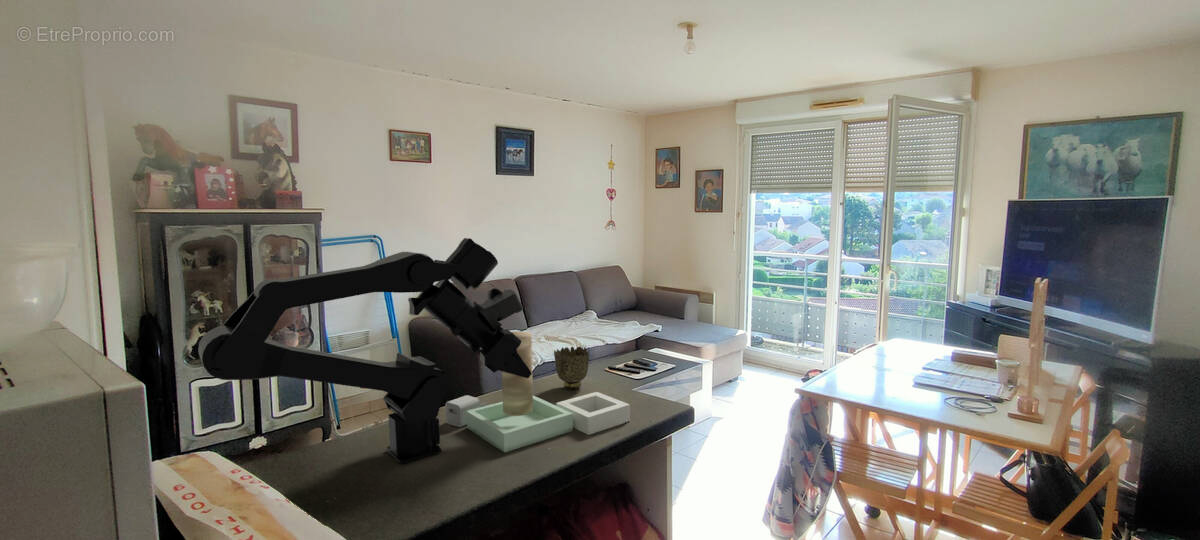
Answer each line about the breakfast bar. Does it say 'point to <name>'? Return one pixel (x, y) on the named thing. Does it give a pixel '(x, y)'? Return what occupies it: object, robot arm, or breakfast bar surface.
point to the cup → (572, 366)
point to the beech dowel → (519, 382)
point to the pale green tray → (519, 424)
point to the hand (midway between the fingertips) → (525, 371)
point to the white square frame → (596, 412)
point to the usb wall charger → (461, 409)
